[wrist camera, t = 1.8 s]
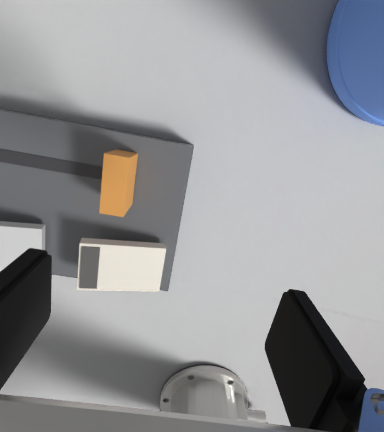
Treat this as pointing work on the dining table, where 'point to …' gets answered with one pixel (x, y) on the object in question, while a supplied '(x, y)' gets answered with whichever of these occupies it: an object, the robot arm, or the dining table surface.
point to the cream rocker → (120, 265)
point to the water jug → (358, 57)
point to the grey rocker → (19, 240)
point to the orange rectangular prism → (118, 182)
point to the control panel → (88, 186)
